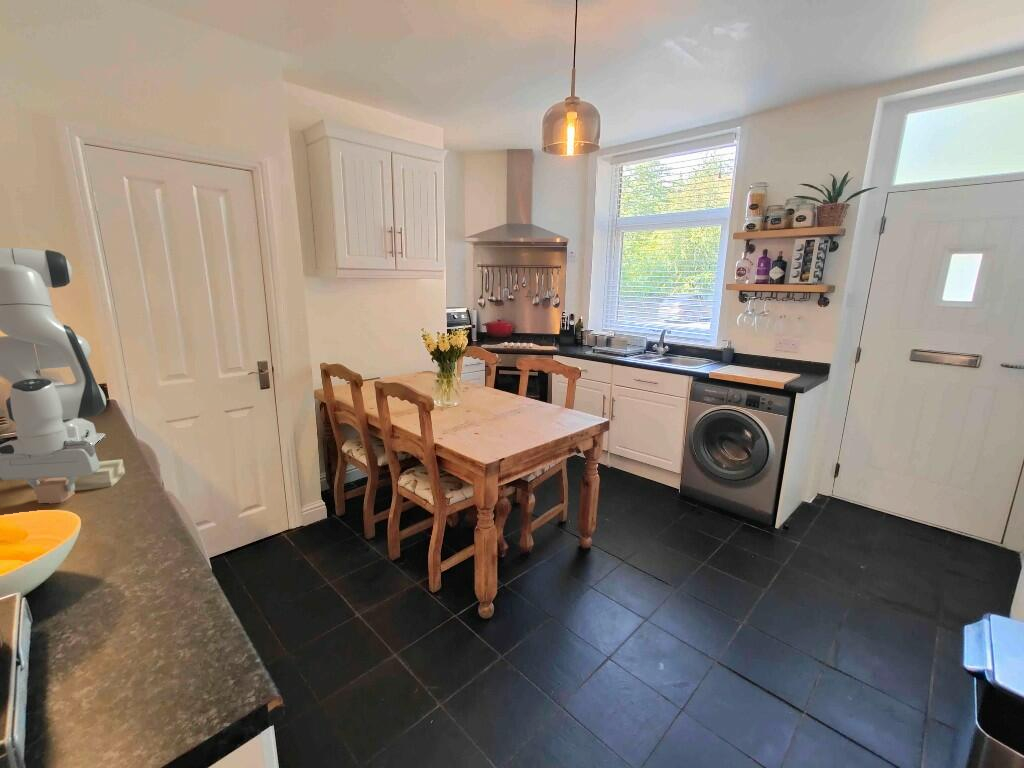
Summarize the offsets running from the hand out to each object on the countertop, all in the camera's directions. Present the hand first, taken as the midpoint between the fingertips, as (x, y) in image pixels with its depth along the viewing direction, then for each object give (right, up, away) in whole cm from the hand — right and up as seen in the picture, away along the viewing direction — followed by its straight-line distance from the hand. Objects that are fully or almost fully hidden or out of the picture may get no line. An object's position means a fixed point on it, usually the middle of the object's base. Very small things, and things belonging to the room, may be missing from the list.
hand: (55, 491), depth 119 cm
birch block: (+2, 0, +11) cm, 11 cm away
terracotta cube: (0, -2, 0) cm, 2 cm away
